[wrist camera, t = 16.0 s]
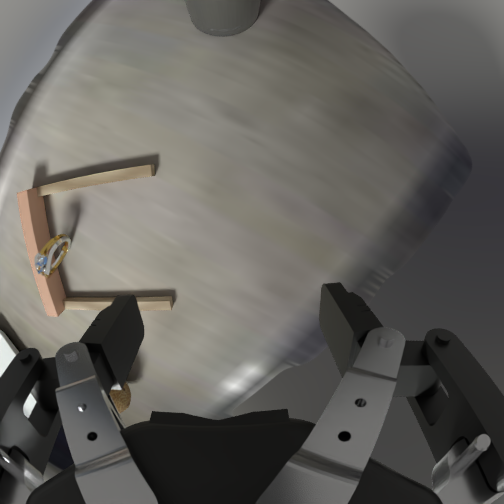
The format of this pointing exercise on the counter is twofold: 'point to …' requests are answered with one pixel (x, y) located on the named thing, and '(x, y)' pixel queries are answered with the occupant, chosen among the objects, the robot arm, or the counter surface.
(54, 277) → the bar
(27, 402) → the square plate
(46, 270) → the ring
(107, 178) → the birch track
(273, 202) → the counter surface
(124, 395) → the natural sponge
